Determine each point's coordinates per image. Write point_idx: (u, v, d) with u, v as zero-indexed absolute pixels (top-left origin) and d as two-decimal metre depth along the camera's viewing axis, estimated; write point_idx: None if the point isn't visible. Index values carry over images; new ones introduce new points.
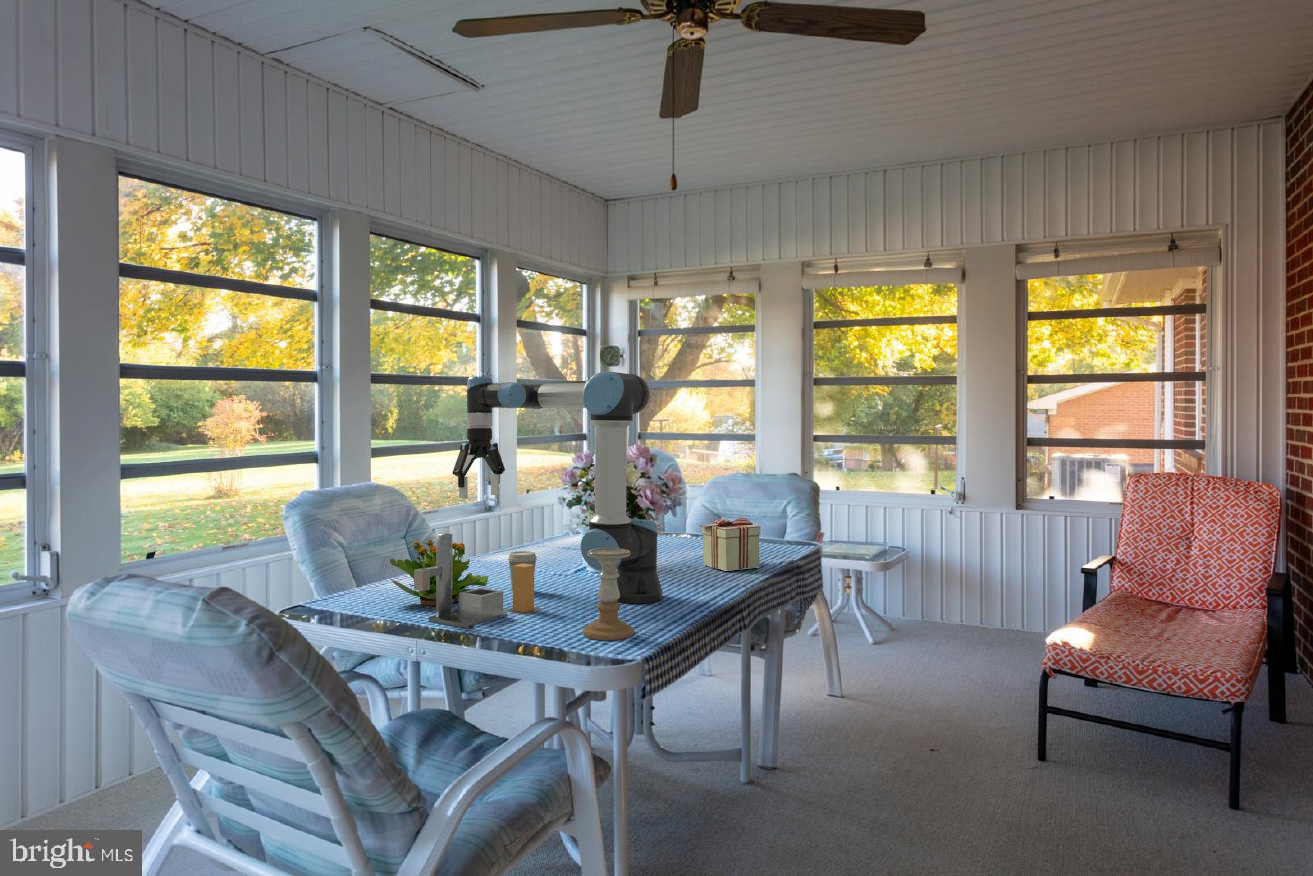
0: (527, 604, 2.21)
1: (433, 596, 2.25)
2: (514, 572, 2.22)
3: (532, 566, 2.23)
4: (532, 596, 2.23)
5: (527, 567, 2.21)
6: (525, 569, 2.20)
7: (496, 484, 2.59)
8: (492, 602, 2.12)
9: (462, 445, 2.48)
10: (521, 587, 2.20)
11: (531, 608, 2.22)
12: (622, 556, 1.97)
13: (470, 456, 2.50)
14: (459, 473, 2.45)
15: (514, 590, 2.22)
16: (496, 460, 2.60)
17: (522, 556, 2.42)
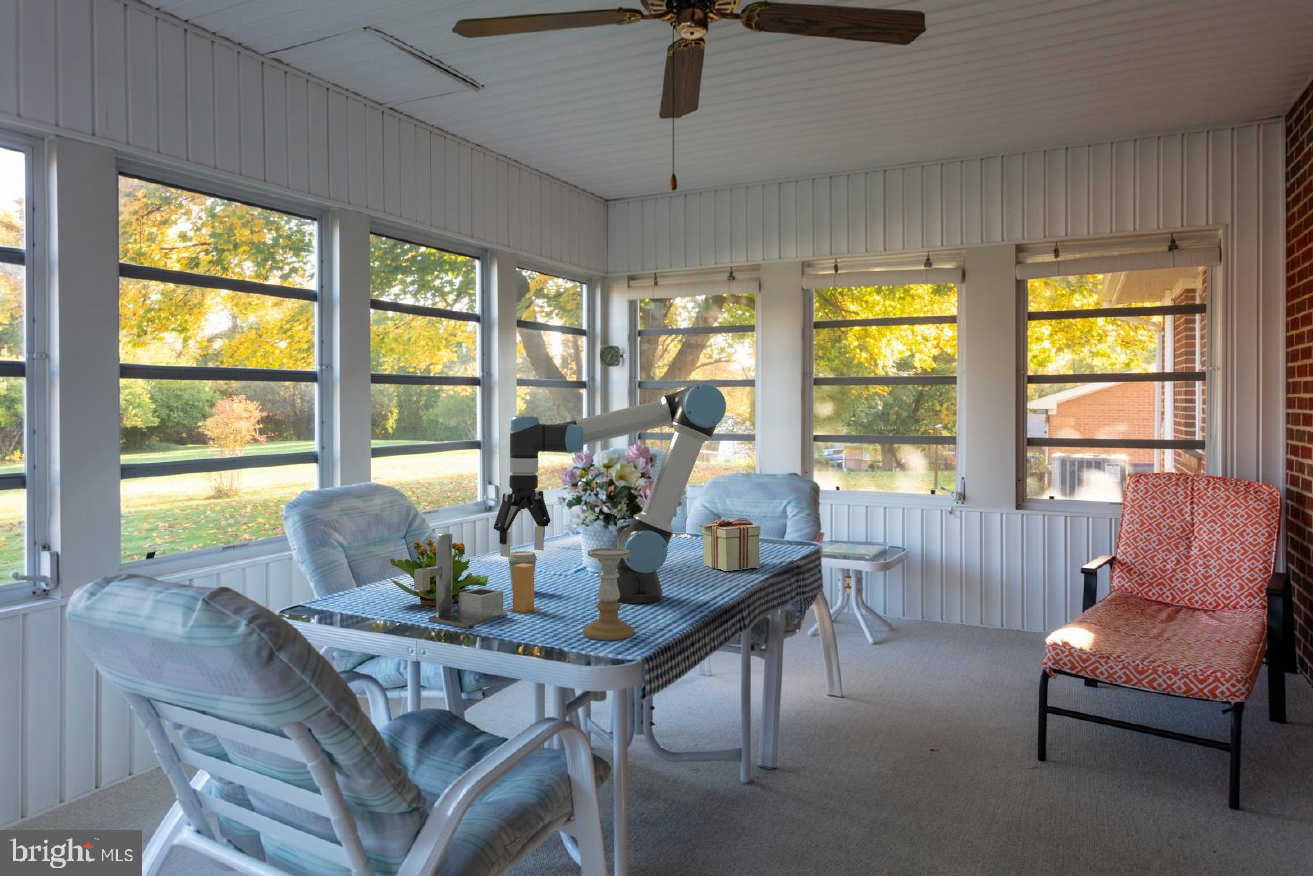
0: (527, 604, 2.21)
1: (433, 596, 2.25)
2: (514, 572, 2.22)
3: (532, 566, 2.23)
4: (532, 596, 2.23)
5: (527, 567, 2.21)
6: (525, 569, 2.20)
7: (541, 538, 2.27)
8: (492, 602, 2.12)
9: (505, 495, 2.16)
10: (521, 587, 2.20)
11: (531, 608, 2.22)
12: (622, 556, 1.97)
13: (513, 507, 2.19)
14: (501, 528, 2.13)
15: (514, 590, 2.22)
16: (541, 510, 2.28)
17: (522, 556, 2.42)
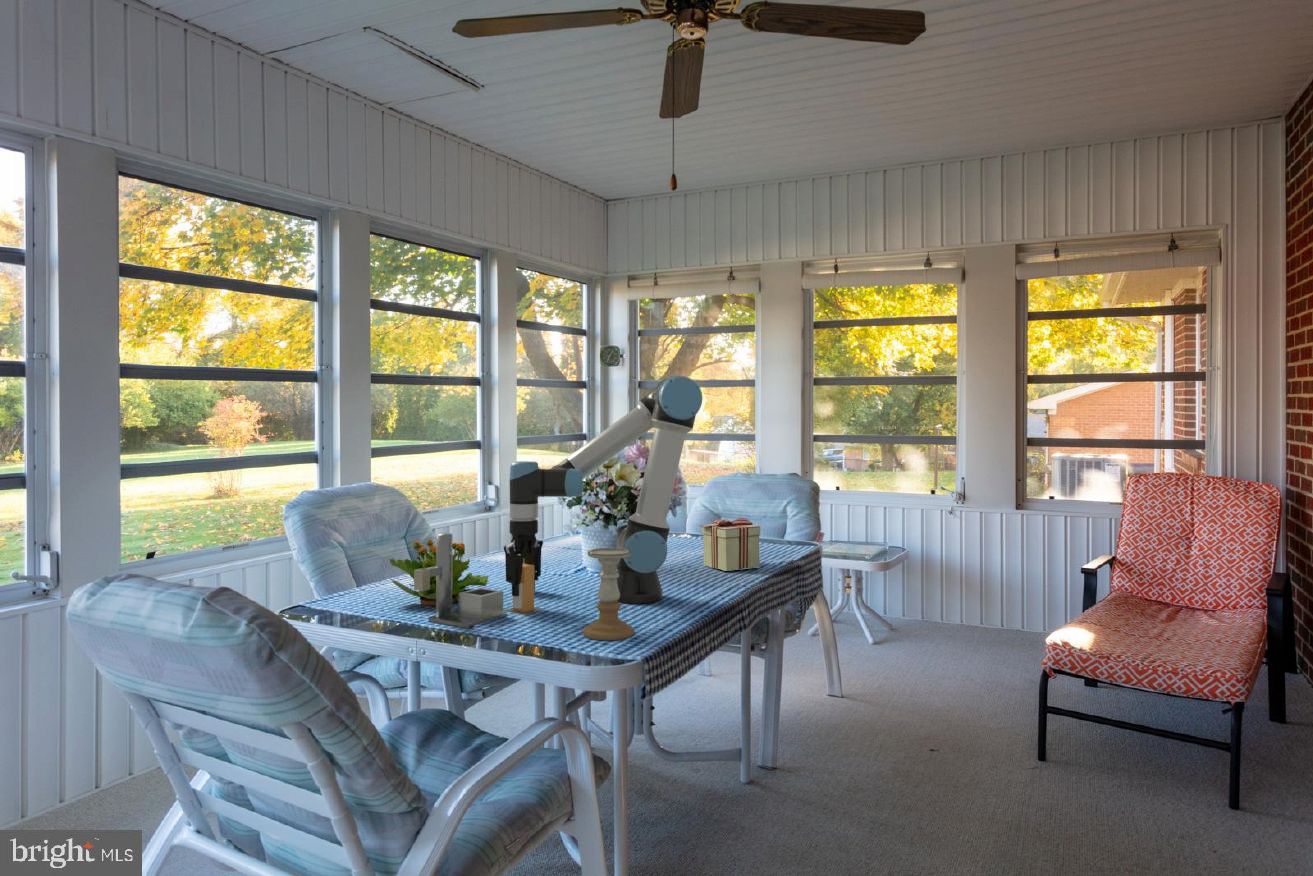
0: (527, 604, 2.21)
1: (433, 596, 2.25)
2: None
3: (532, 566, 2.23)
4: (532, 596, 2.23)
5: (527, 567, 2.21)
6: (525, 569, 2.20)
7: None
8: (492, 602, 2.12)
9: (506, 549, 2.17)
10: None
11: (531, 608, 2.22)
12: (622, 556, 1.97)
13: (517, 556, 2.20)
14: (514, 581, 2.18)
15: None
16: (535, 561, 2.26)
17: None
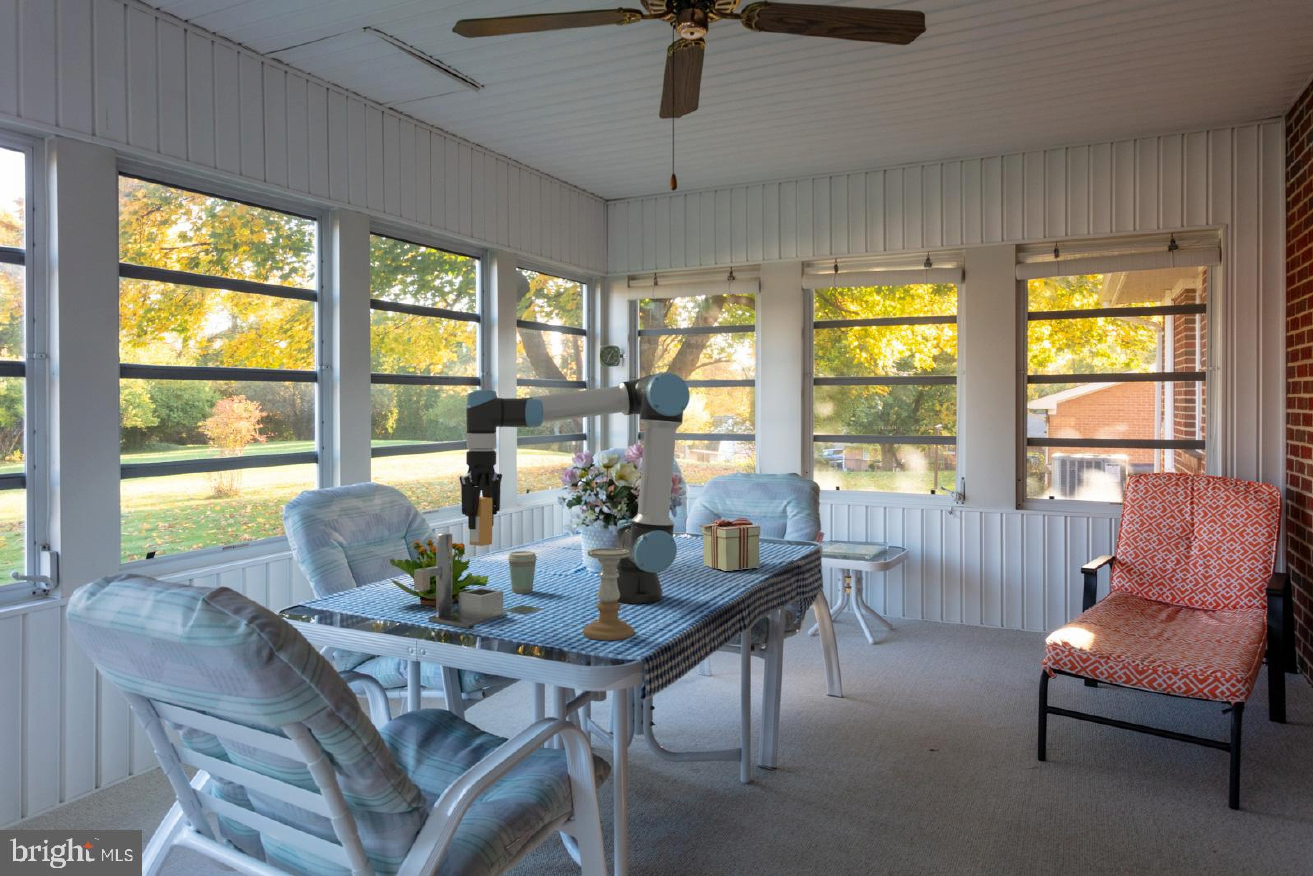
0: (484, 538, 2.13)
1: (433, 596, 2.25)
2: None
3: (490, 499, 2.14)
4: (489, 530, 2.14)
5: (484, 499, 2.12)
6: (482, 501, 2.12)
7: None
8: (492, 602, 2.12)
9: (461, 479, 2.08)
10: None
11: (489, 542, 2.14)
12: (622, 556, 1.97)
13: (474, 488, 2.12)
14: (470, 513, 2.09)
15: None
16: (493, 495, 2.18)
17: (522, 556, 2.42)
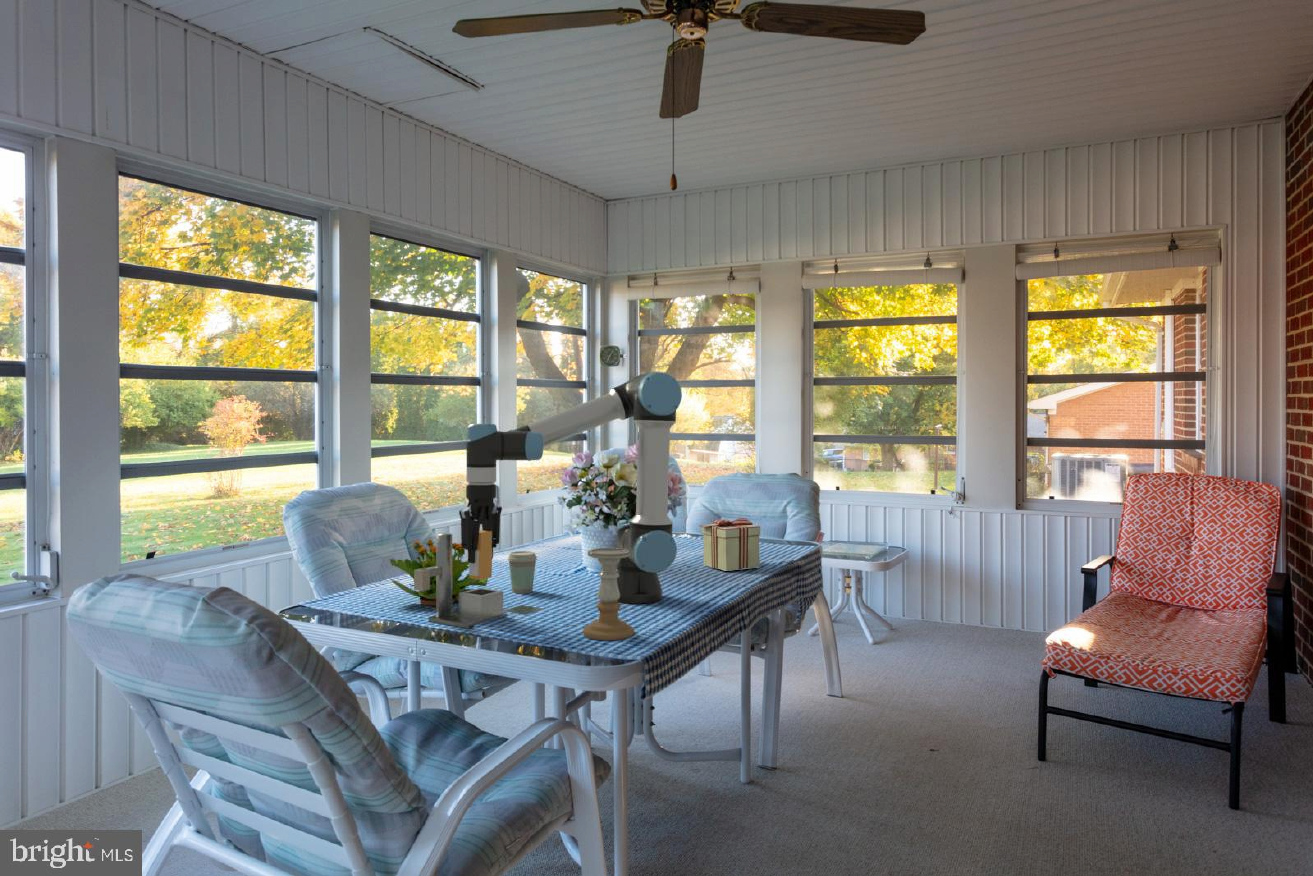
0: (484, 572, 2.13)
1: (433, 596, 2.25)
2: None
3: (489, 532, 2.14)
4: (489, 563, 2.14)
5: (484, 533, 2.12)
6: (482, 535, 2.12)
7: None
8: (492, 602, 2.12)
9: (461, 513, 2.09)
10: None
11: (488, 576, 2.14)
12: (622, 556, 1.97)
13: (473, 522, 2.12)
14: (470, 547, 2.09)
15: None
16: (493, 527, 2.18)
17: (522, 556, 2.42)
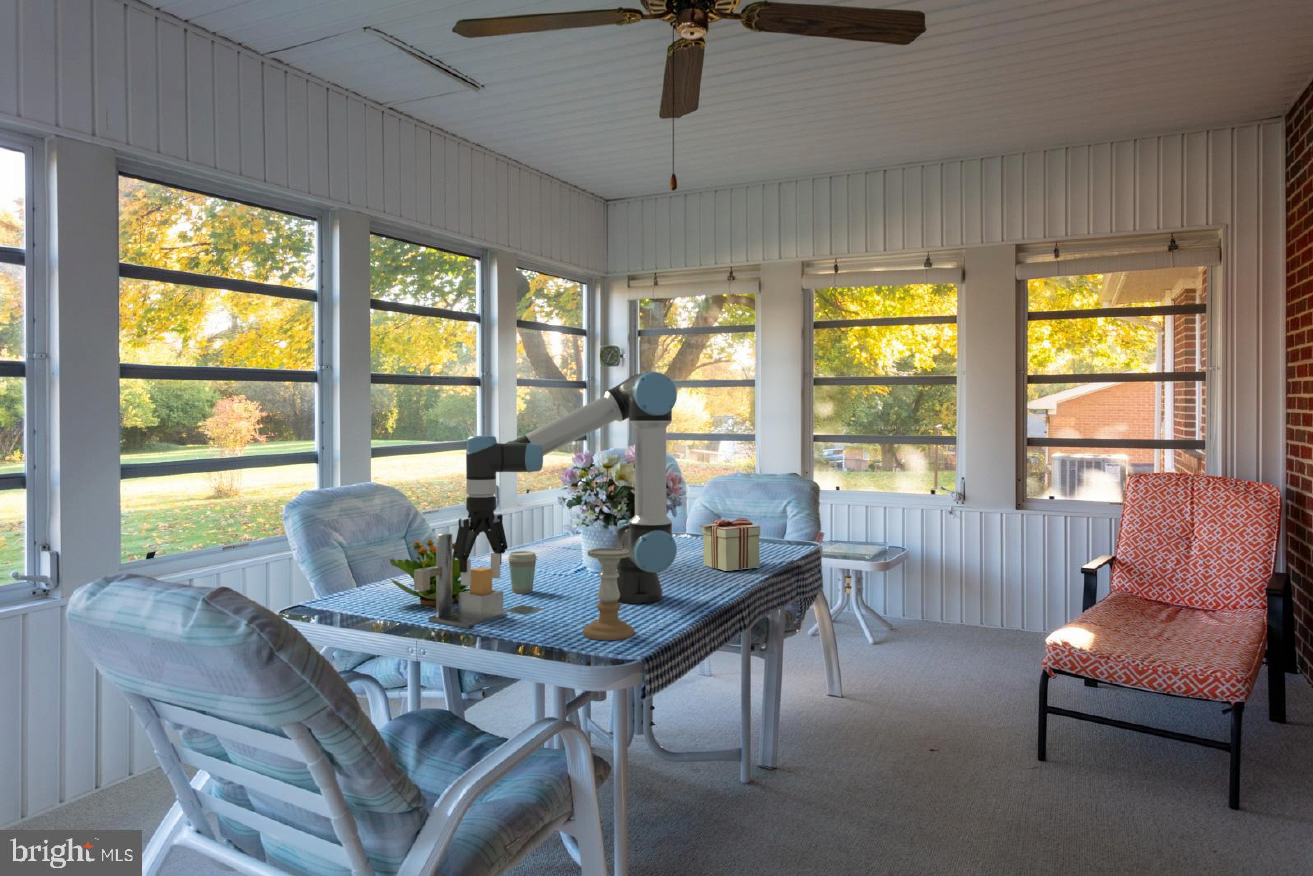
0: None
1: (433, 596, 2.25)
2: (471, 576, 2.14)
3: (490, 570, 2.14)
4: None
5: (484, 571, 2.13)
6: (482, 573, 2.12)
7: (497, 565, 2.18)
8: (492, 602, 2.12)
9: (460, 521, 2.08)
10: (478, 591, 2.12)
11: None
12: (622, 556, 1.97)
13: (471, 532, 2.11)
14: (461, 556, 2.07)
15: None
16: (498, 535, 2.20)
17: (522, 556, 2.42)
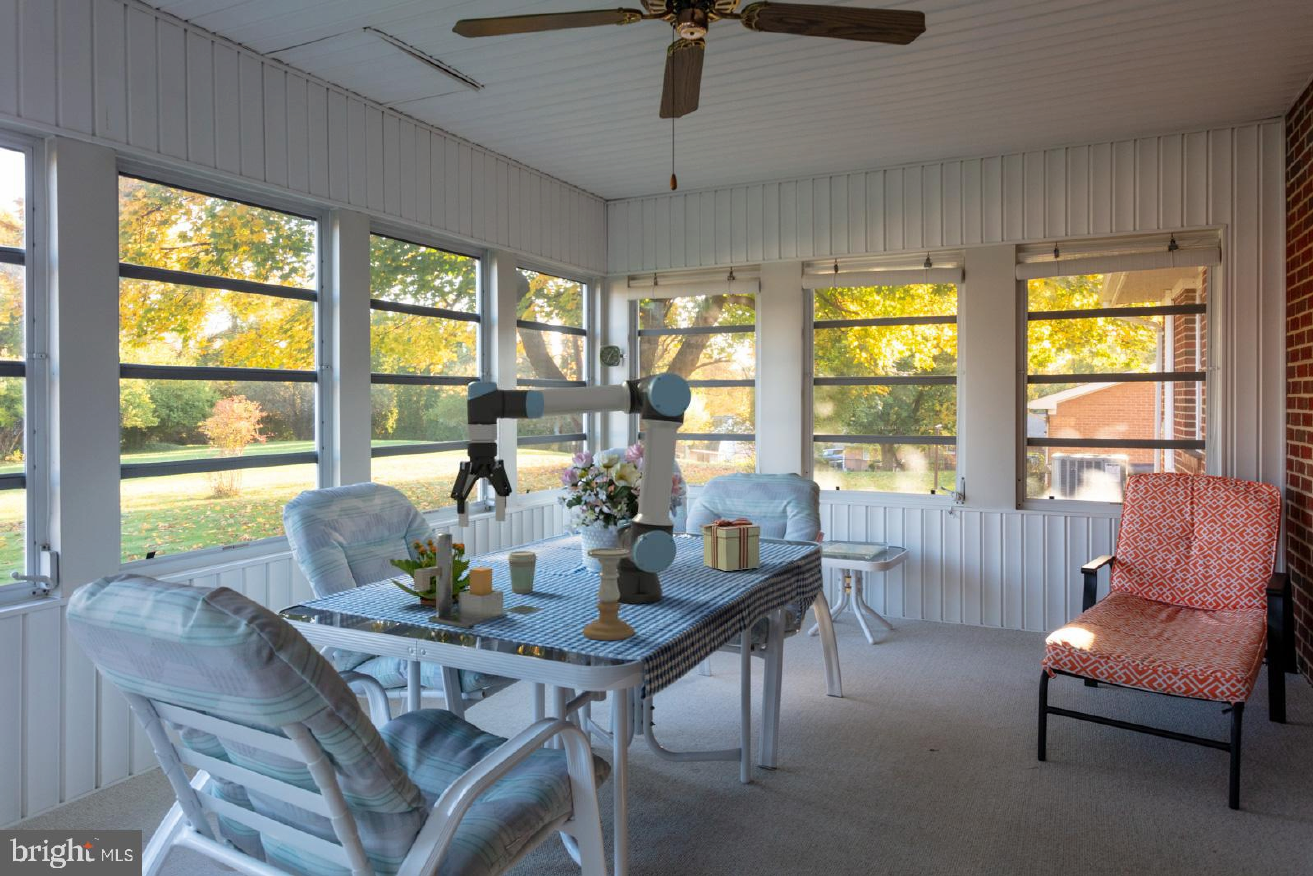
0: None
1: (433, 596, 2.25)
2: (471, 576, 2.14)
3: (490, 570, 2.14)
4: None
5: (484, 571, 2.13)
6: (482, 573, 2.12)
7: (502, 508, 2.19)
8: (492, 602, 2.12)
9: (462, 463, 2.09)
10: (478, 591, 2.12)
11: None
12: (622, 556, 1.97)
13: (471, 476, 2.11)
14: (458, 497, 2.05)
15: None
16: (502, 480, 2.21)
17: (522, 556, 2.42)
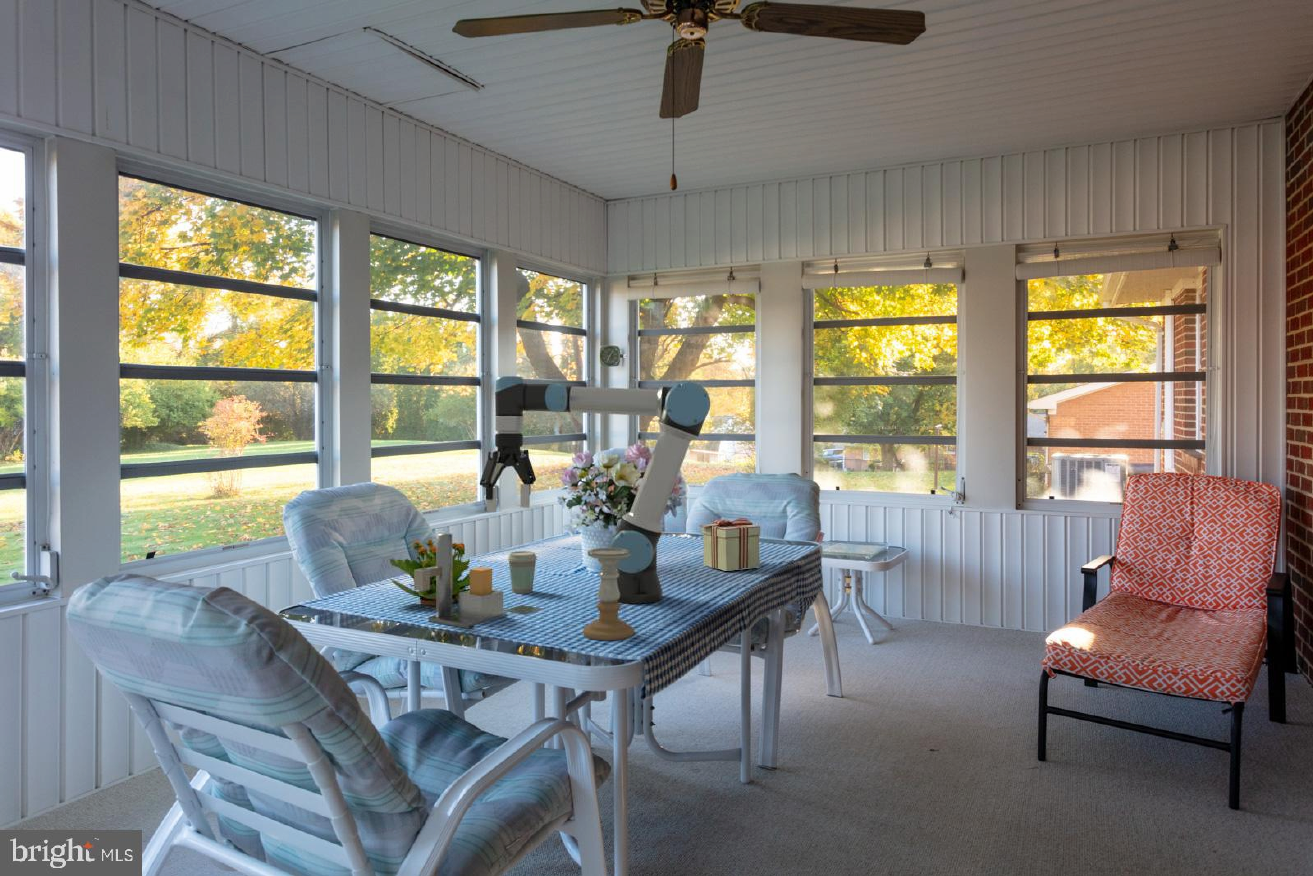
0: None
1: (433, 596, 2.25)
2: (471, 576, 2.14)
3: (490, 570, 2.14)
4: None
5: (484, 571, 2.13)
6: (482, 573, 2.12)
7: (526, 495, 2.34)
8: (492, 602, 2.12)
9: (490, 452, 2.23)
10: (478, 591, 2.12)
11: None
12: (622, 556, 1.97)
13: (498, 464, 2.25)
14: (487, 484, 2.20)
15: None
16: (526, 469, 2.35)
17: (522, 556, 2.42)
